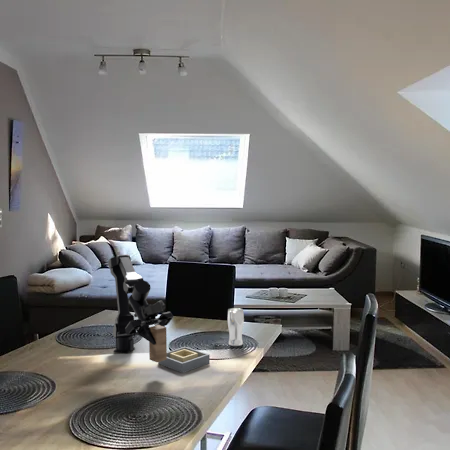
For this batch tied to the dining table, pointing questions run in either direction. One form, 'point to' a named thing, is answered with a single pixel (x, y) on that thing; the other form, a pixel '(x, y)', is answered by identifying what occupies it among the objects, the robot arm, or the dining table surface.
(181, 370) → the housing
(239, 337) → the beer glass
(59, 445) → the dining table surface
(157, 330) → the post
